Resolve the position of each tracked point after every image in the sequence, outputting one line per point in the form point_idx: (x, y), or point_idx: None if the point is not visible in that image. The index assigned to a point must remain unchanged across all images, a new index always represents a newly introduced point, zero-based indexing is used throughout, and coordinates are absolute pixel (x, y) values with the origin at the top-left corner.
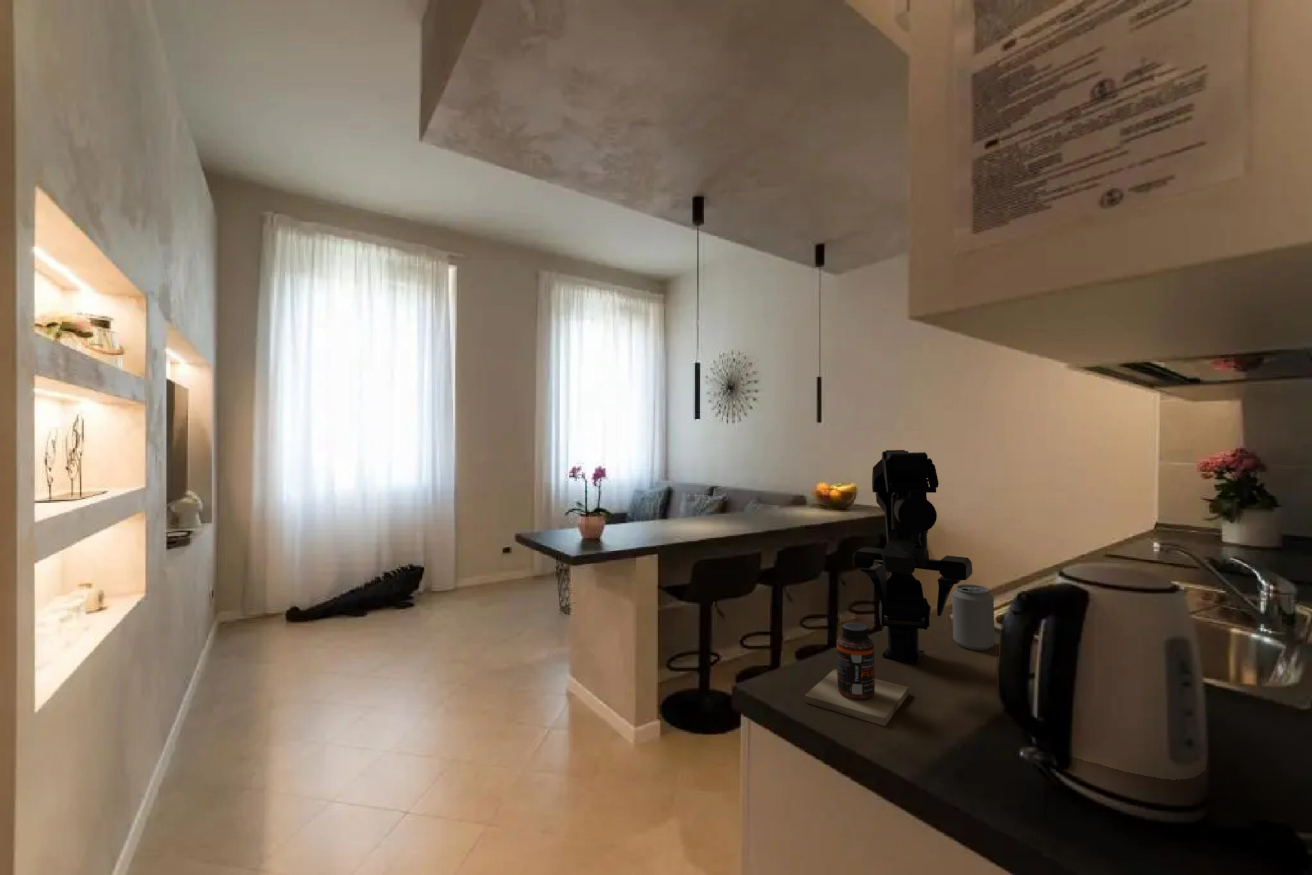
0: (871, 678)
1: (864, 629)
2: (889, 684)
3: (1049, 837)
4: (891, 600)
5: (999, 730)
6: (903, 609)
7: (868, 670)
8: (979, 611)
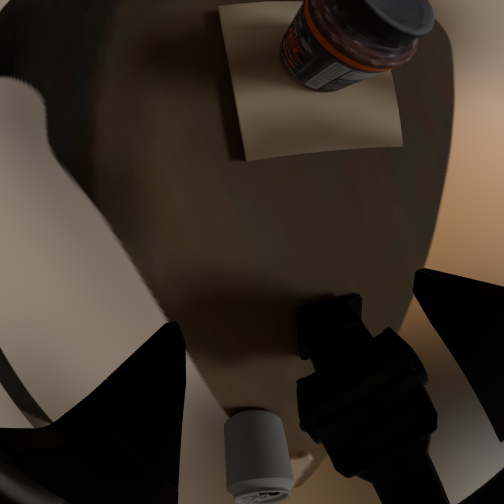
0: (286, 34)
1: None
2: (285, 143)
3: (14, 9)
4: (400, 377)
5: (71, 153)
6: (358, 375)
7: (294, 18)
8: (237, 465)
